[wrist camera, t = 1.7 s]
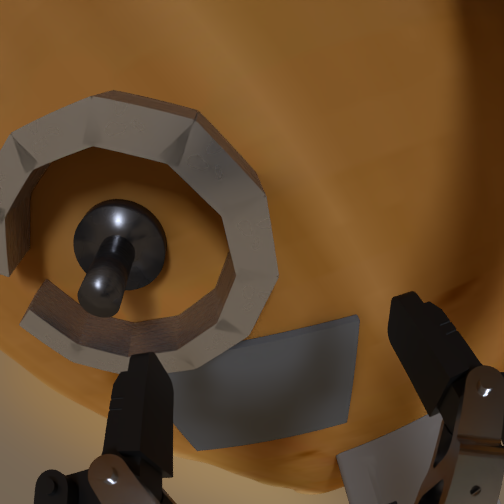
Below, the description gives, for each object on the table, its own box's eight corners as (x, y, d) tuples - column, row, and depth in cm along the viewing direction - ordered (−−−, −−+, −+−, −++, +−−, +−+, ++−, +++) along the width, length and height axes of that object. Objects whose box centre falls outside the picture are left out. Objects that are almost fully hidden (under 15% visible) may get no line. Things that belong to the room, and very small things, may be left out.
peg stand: (65, 213, 16) (27, 263, 11) (150, 188, 16) (129, 237, 11) (100, 286, 18) (79, 346, 14) (178, 270, 18) (171, 333, 14)
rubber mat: (130, 358, 22) (129, 364, 22) (356, 314, 22) (359, 320, 22) (196, 446, 31) (196, 450, 31) (345, 417, 32) (346, 422, 31)
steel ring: (-29, 158, 13) (-59, 176, 10) (235, 58, 13) (241, 55, 10) (73, 351, 21) (64, 382, 19) (280, 317, 21) (289, 351, 19)
